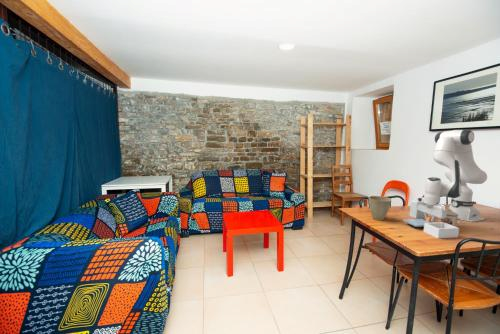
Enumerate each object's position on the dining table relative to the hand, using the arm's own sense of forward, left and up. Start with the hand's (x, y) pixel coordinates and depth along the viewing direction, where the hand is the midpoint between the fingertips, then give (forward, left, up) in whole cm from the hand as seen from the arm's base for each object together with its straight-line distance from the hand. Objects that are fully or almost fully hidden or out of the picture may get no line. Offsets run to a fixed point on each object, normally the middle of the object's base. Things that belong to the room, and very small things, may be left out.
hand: (429, 220), depth 158 cm
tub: (+6, +14, -4) cm, 16 cm away
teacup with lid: (-15, +2, -4) cm, 16 cm away
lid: (+7, 0, -3) cm, 8 cm away
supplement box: (-7, -17, -4) cm, 19 cm away
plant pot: (+26, -17, -4) cm, 31 cm away
